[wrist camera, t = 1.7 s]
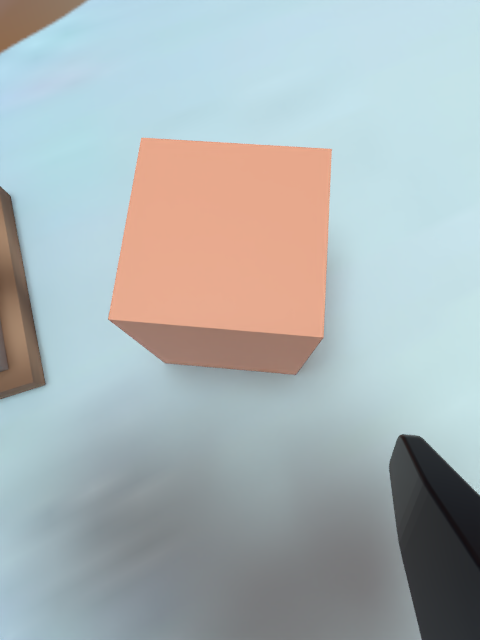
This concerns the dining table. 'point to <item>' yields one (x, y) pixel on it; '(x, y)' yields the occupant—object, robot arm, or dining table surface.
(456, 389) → the dining table surface
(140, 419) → the dining table surface
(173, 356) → the terracotta block
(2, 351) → the grey square slab
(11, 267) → the tower base block
